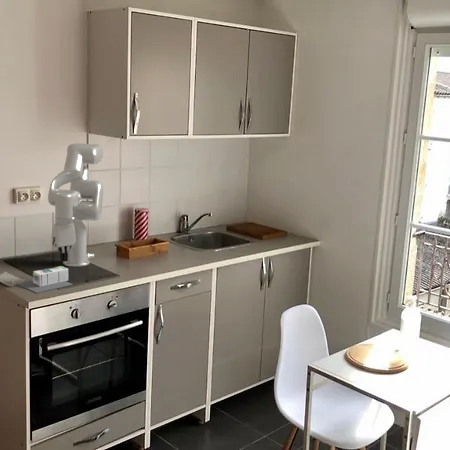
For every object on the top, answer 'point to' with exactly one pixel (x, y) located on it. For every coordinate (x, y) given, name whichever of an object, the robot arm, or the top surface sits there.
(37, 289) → the mat
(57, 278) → the syrup box
